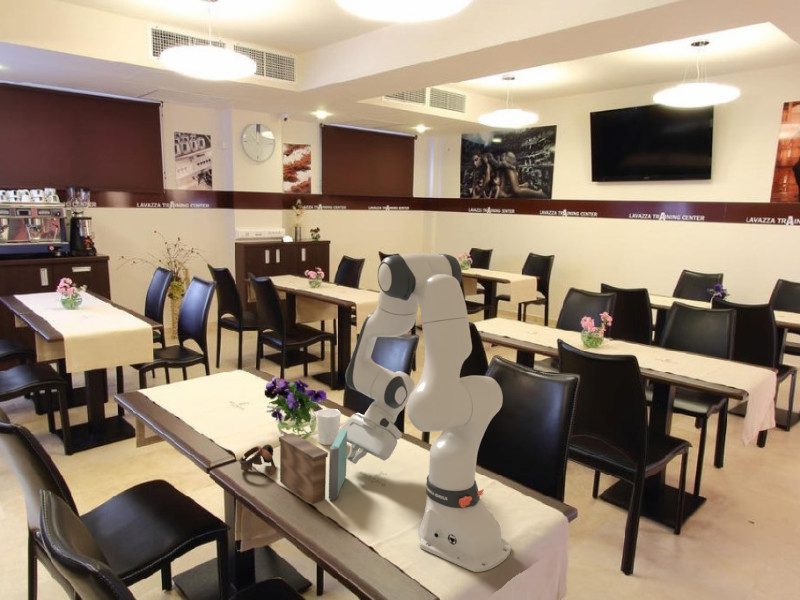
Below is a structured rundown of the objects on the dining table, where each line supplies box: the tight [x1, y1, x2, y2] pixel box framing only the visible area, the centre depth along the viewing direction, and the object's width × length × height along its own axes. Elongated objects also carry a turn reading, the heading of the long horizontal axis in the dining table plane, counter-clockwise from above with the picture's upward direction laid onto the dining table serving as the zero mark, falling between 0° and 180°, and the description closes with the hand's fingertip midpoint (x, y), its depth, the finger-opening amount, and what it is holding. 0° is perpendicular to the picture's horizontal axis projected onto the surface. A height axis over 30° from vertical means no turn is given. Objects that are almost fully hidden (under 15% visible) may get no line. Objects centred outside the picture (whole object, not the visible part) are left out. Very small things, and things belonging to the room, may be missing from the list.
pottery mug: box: [238, 444, 277, 476], centre depth 164 cm, size 12×10×8 cm
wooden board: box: [278, 432, 329, 504], centre depth 152 cm, size 17×5×13 cm, turn 44°
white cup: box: [316, 408, 342, 446], centre depth 185 cm, size 8×8×10 cm
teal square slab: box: [328, 430, 348, 501], centre depth 153 cm, size 14×2×14 cm, turn 174°
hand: (351, 461), depth 160 cm, fingers closed
